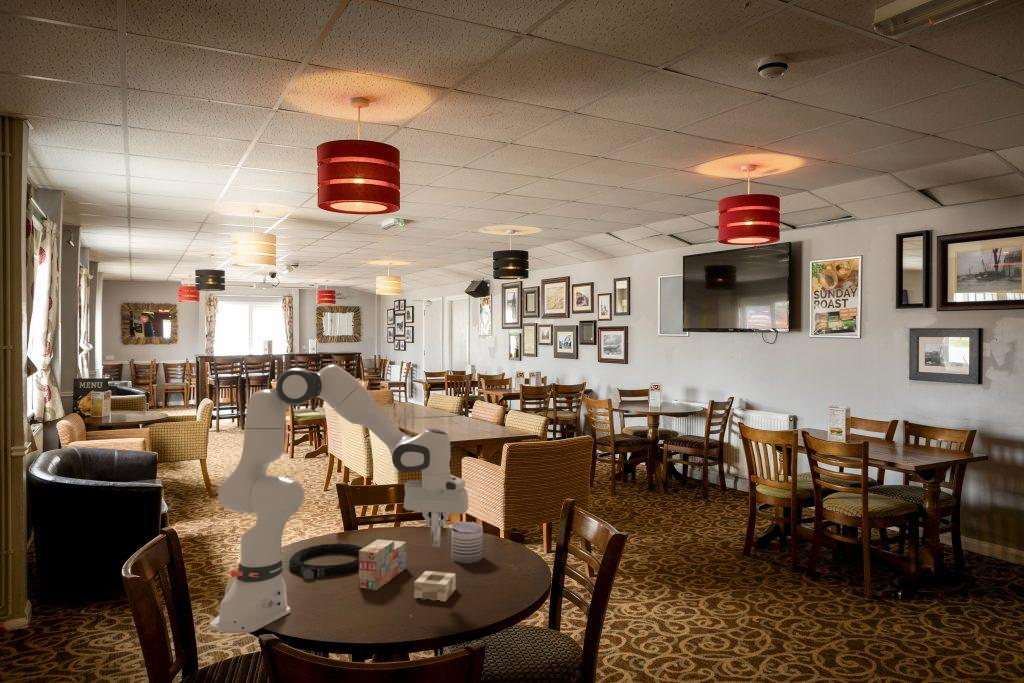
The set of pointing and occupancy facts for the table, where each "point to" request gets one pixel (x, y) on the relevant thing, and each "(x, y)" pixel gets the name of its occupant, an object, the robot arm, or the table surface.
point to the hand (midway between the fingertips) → (435, 525)
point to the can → (467, 542)
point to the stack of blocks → (381, 563)
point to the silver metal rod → (435, 529)
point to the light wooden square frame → (435, 585)
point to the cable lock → (322, 570)
